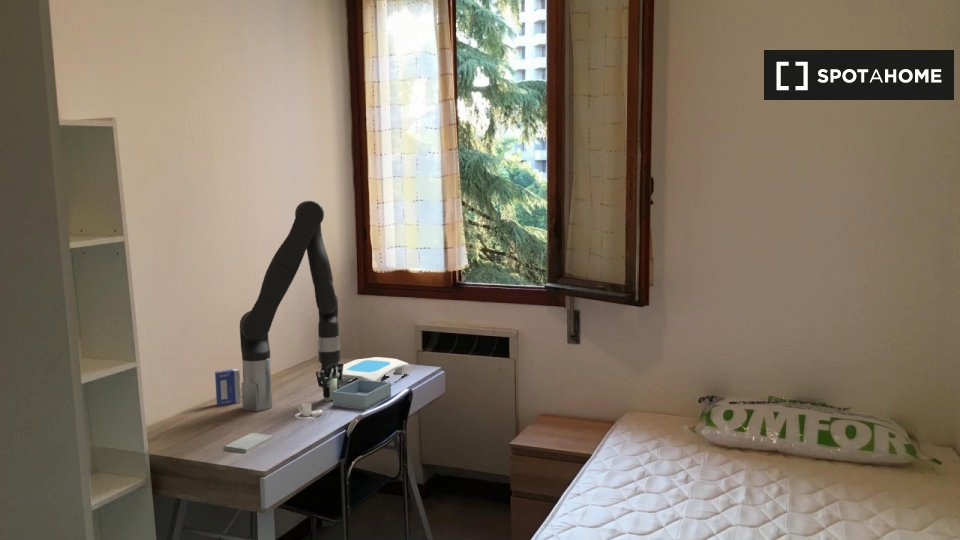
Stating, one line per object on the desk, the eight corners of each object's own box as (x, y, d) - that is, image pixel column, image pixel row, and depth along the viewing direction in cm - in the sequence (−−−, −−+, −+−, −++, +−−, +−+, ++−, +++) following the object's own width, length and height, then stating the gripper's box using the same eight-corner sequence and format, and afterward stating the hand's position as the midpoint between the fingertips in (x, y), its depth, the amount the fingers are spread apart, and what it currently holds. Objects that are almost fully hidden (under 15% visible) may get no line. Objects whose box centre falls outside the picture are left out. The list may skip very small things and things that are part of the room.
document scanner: (410, 374, 295) (409, 359, 294) (375, 393, 269) (374, 377, 268) (364, 370, 302) (363, 355, 302) (326, 388, 277) (325, 372, 276)
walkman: (218, 406, 255) (216, 372, 253) (216, 404, 257) (214, 370, 256) (241, 402, 259) (240, 369, 258) (239, 400, 261) (237, 367, 260)
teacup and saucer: (326, 415, 245) (325, 403, 245) (309, 421, 238) (308, 409, 238) (306, 411, 249) (306, 399, 249) (289, 417, 243) (289, 405, 242)
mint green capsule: (332, 401, 259) (332, 380, 258) (321, 400, 261) (321, 379, 260) (340, 398, 263) (339, 377, 262) (329, 396, 265) (328, 376, 264)
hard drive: (246, 449, 210) (273, 435, 222) (222, 446, 213) (250, 432, 225) (246, 454, 210) (273, 440, 222) (223, 451, 213) (251, 437, 225)
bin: (365, 410, 249) (365, 395, 248) (332, 405, 254) (332, 391, 253) (391, 396, 264) (390, 382, 264) (359, 392, 269) (359, 379, 269)
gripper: (326, 353, 252) (328, 402, 254) (349, 345, 265) (350, 391, 267) (308, 352, 254) (310, 400, 257) (331, 343, 268) (333, 389, 270)
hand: (330, 395), depth 262 cm, fingers closed on mint green capsule, 4 cm apart
